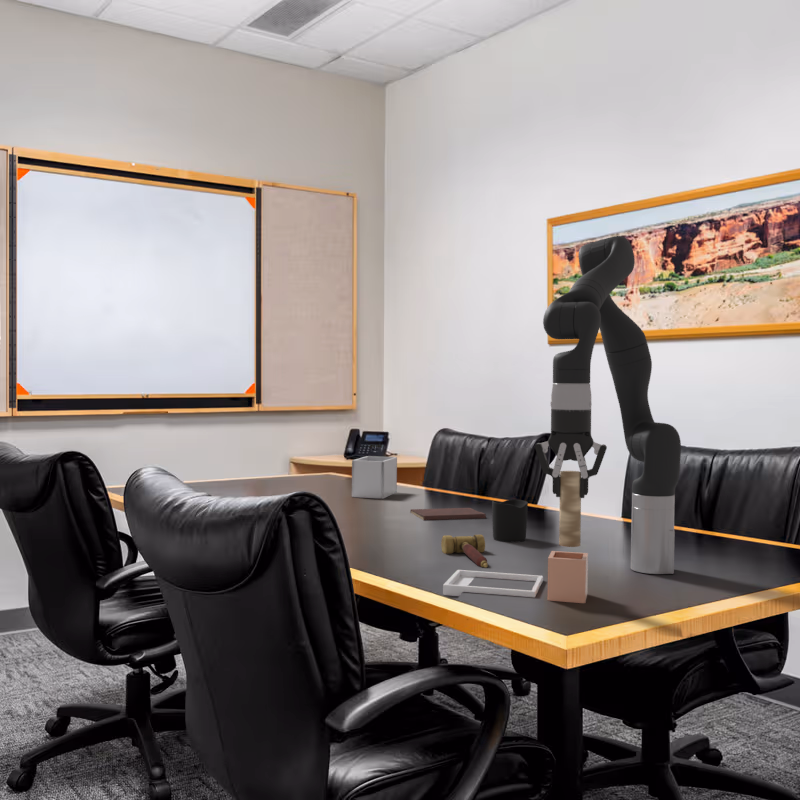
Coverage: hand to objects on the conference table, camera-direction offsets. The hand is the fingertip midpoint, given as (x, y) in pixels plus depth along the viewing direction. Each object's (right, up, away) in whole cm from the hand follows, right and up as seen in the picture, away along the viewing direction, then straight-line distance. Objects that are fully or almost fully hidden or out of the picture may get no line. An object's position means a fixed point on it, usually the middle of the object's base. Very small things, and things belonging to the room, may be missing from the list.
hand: (570, 496), depth 165 cm
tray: (-13, -20, +9) cm, 26 cm away
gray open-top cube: (-42, -16, +148) cm, 154 cm away
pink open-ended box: (0, -20, +1) cm, 20 cm away
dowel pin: (0, -9, 0) cm, 9 cm away
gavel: (-15, -20, +39) cm, 46 cm away
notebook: (-18, -18, +103) cm, 106 cm away
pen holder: (-3, -19, +65) cm, 68 cm away
